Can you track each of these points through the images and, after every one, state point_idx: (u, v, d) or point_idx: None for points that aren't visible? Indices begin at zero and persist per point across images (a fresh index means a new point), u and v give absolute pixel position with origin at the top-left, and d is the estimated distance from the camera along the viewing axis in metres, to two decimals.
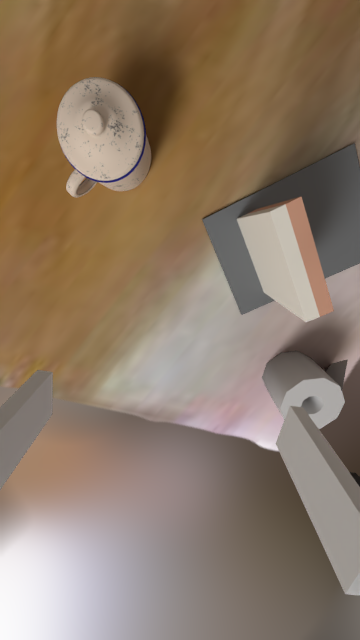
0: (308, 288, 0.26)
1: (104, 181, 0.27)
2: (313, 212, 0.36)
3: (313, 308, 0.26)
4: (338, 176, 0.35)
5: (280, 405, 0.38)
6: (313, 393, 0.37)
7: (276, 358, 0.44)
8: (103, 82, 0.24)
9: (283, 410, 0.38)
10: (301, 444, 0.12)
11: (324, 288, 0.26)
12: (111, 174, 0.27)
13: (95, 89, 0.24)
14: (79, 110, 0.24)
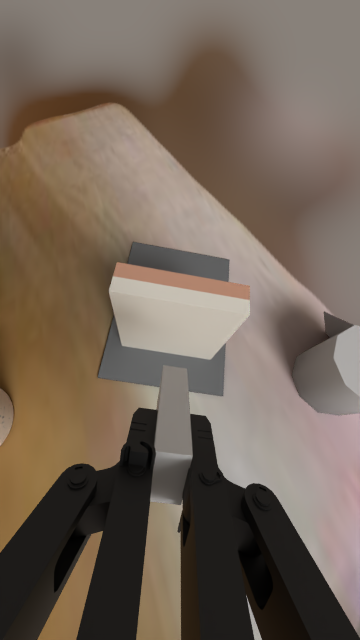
0: (210, 295, 0.22)
1: None
2: None
3: (237, 301, 0.22)
4: (148, 259, 0.40)
5: None
6: (356, 355, 0.28)
7: (297, 382, 0.34)
8: None
9: None
10: None
11: (219, 283, 0.23)
12: None
13: None
14: None
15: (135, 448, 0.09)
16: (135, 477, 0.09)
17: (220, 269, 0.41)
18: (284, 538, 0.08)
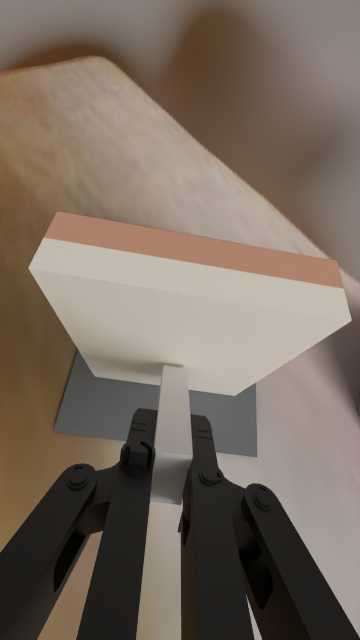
0: (261, 279, 0.10)
1: None
2: None
3: (319, 291, 0.10)
4: None
5: None
6: None
7: None
8: None
9: None
10: None
11: (276, 254, 0.11)
12: None
13: None
14: None
15: (135, 448, 0.09)
16: (135, 477, 0.09)
17: None
18: (284, 538, 0.08)
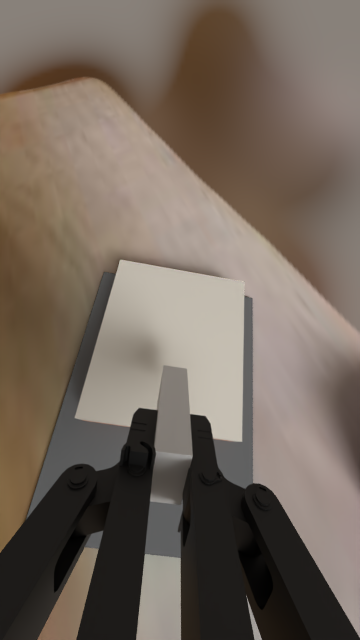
0: None
1: None
2: None
3: None
4: None
5: None
6: None
7: None
8: None
9: None
10: None
11: None
12: None
13: None
14: None
15: (135, 448, 0.09)
16: (135, 477, 0.09)
17: None
18: (284, 538, 0.08)
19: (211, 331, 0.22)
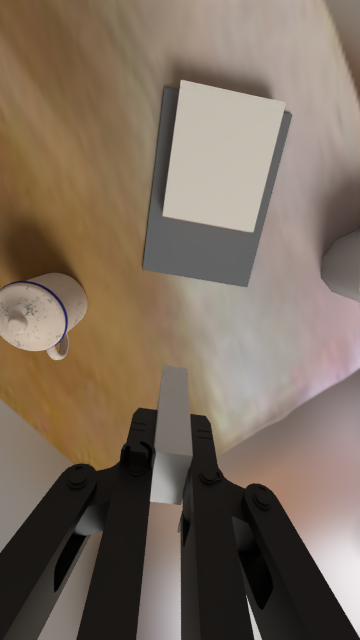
0: None
1: (62, 337, 0.32)
2: None
3: None
4: None
5: None
6: None
7: (323, 266, 0.37)
8: None
9: None
10: None
11: None
12: (59, 330, 0.31)
13: (0, 305, 0.30)
14: (6, 326, 0.30)
15: (135, 448, 0.09)
16: (135, 477, 0.09)
17: None
18: (284, 538, 0.08)
19: (248, 156, 0.30)
